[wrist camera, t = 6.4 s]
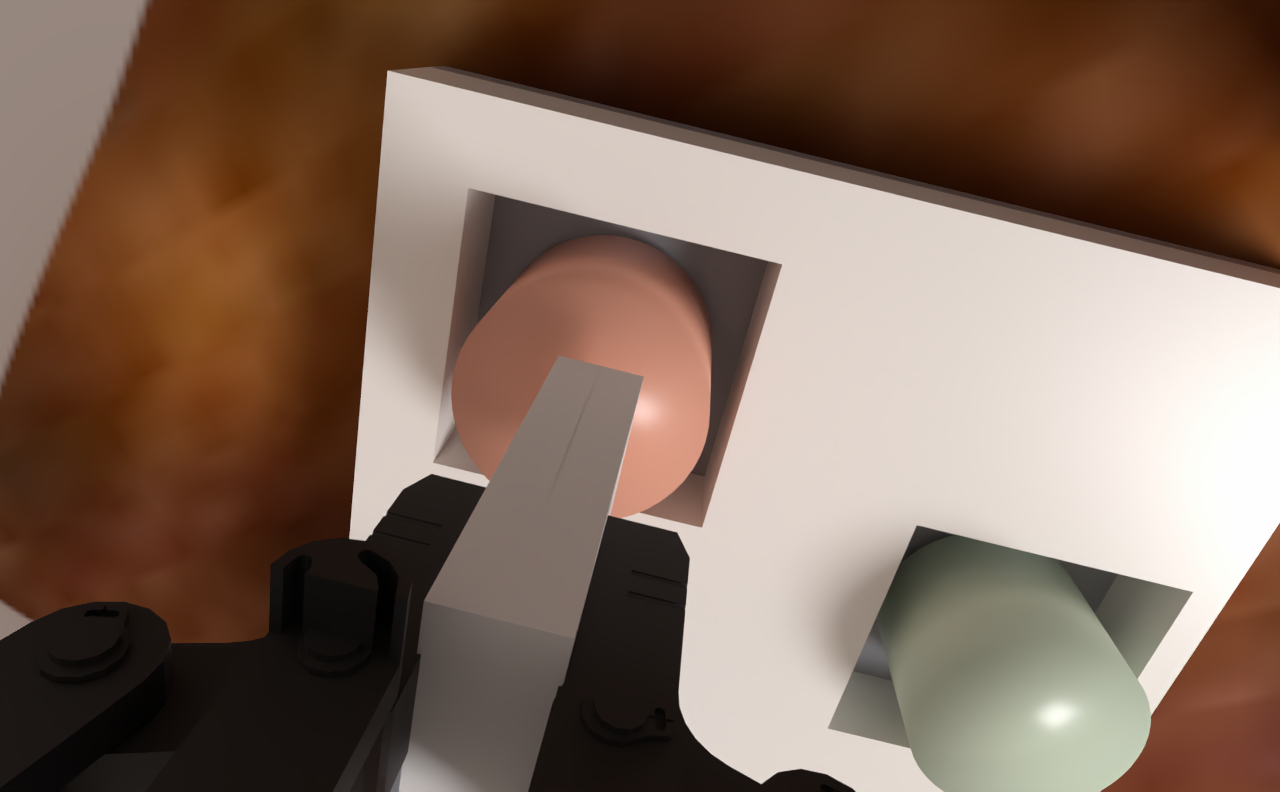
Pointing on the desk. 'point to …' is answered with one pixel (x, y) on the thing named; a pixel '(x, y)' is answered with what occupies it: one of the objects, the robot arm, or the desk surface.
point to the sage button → (1007, 673)
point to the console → (844, 394)
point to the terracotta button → (595, 357)
